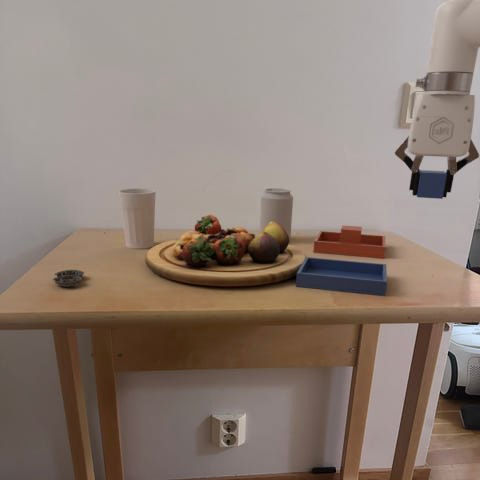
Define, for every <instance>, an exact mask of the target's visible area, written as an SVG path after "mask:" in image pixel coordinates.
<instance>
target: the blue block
mask: <svg viewBox="0 0 480 480" xmlns="http://www.w3.org/2000/svg"><path fill="white" fill-rule="evenodd" d="M419 173H420V179H419V186H418V192H417V195H416V196H415V197H416V198H421V199H422V198H423V199H437V200H440V199H441V200H443V199H444V197H443V193H444V188H445V182H446V177H447V173H446V171H444V170H428V169H427V170H425V169H420V171H419Z"/></svg>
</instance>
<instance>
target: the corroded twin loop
mask: <svg viewBox="0 0 480 480" xmlns="http://www.w3.org/2000/svg"><path fill="white" fill-rule="evenodd" d="M84 275H85V271H82V270H80V269H79V270H78V269H66V270H61V271H57V272H55V273H54V276H56V277H54V278H53V279H52V281H54V282H55V285H57V286H59V287H67V288H69V287H72V286H75V285H79V284H80V283H81V280H82V279H83V277H84Z"/></svg>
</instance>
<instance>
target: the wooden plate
mask: <svg viewBox="0 0 480 480" xmlns="http://www.w3.org/2000/svg"><path fill="white" fill-rule="evenodd" d="M305 257H306V254H305V253H304V251H302V250H301V249H299V248H298V247H296V246H295V245H292V244H290V238H289V236H288V234H287V232H286V231H285V230H284V228H282V227H281V226H280V225H279V224H277V223H276V222H270V223H269V224H268V225H267V226H266V227H265V228H264V229H263V231H262V233H261V234H260V233H259V234H258V235H256V234H254V233H253V232H252V233H251V232H248V230H247V229H246V228H245V227H240V226H237V227H230V228H227V229H226V230H225V229H224V228H222V226H221V223H220V221H219V218H218V217H217V216H215V215H212V214H207V215H205V216H202V217H201V220H196V223H195V224H194V229H192V230H188V231H186V232H184V233H182V235H181V236H180V238H177V239H172V240H167V241H164V242H161V243H159V244H156V245H154V246H153V247H150V248H149V250H148V251H147V252H146V253H145V259H144V260H145V264H146V266H147V268H148V269H149V270H150V271H152V272H154V273H155V274H157V275H159V276H161V277H163V278H166V279H170V280H173V281H176V282H181V283H182V282H183V283H185V284H193V285H198V286H209V287H251V286H261V285H268V284H273V283H278V282H281V281H287V280H289V279H292V278H294V277H295V276H297V272H298V270H299V268H300V267H301V265H302V263H303V261H304V259H305Z"/></svg>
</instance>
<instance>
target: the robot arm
mask: <svg viewBox="0 0 480 480" xmlns="http://www.w3.org/2000/svg"><path fill="white" fill-rule="evenodd" d="M430 38H431V39H430V45H429V53H428V58H427V65H426V71H425V76H423V77H421V78H416V80H415V88H419V89H421V90H422V94H418V95H417V99H416V101H415V105H414V108H413V113H412V117H411V122H410V127H409V133H408V135H407V136H406V137H405V139H404V140H403V141H402V142H401V143H400V145H398V147H396V149H395V150H394V156H396V157H397V158H398V159H400V160H401V161H402V162H403V163H404V164H405V165H406V166H407V167H408V169H409V171H411V175H410V182H409V189H408V190H409V191H412V192H411V193H412V196H415V197H417V196H416V195H417V192H418V186H419V179H420V173H419V171H420V170H421V169H420V166H421V164H422V162H423V159H424V157H443V158H446V159H447V161H446V162H447V169H446V171H445V172H446V173H447V177H446V182H445V188H444V193H443V198H447V196H448V193H452V188H453V182H454V176H455V175H456V174H457V173H458V172H459V171H460V170H462V169H463V168H464V167H466V165H468V164H470V163H472V162H474V161H476V160H477V159H478V158H480V153H479V152H478V151H479V150H478V149H477V147H476V146H475V144H474V142H473V139H472V133H473V127H474V120H475V119H474V117H475V105H476V104H475V103H476V101H475V100H476V98H475V94H471V89H472V84H473V79H474V74H475V68H476V63H477V57H478V51H479V49H480V0H447V1H445V2H442V3H441V4H439V6H438V7H437V9H436V11H435V14H434V19H433V25H432V32H431V37H430ZM406 150H407V151H408V153H409V154H411V155H414V159H412V157H410V156H409V155H408V154H407V153H406V152H405V151H406ZM461 157H462V158H461ZM457 158H459V160H457Z"/></svg>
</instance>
